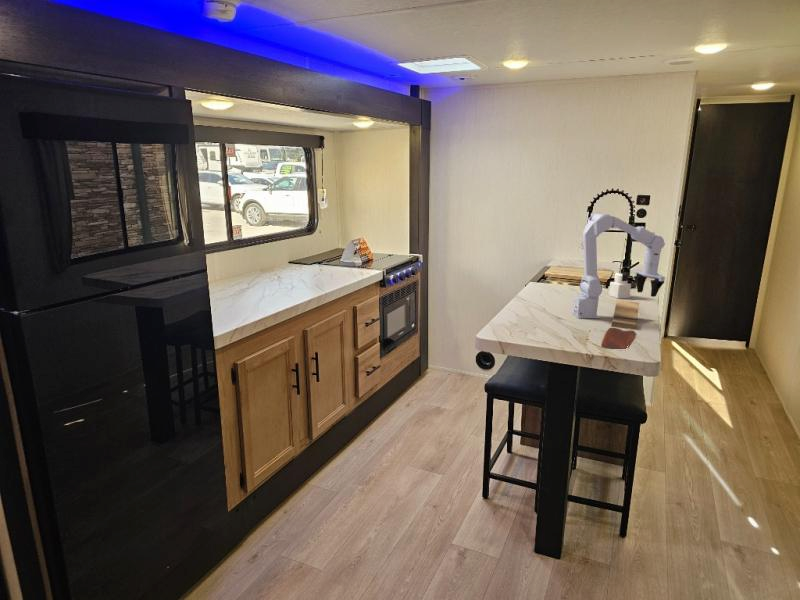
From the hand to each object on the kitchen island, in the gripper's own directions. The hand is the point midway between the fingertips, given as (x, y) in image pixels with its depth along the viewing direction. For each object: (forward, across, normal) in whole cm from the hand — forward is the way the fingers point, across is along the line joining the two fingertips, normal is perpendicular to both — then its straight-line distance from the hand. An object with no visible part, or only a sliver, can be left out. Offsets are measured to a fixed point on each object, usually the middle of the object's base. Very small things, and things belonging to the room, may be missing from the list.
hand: (646, 294), depth 225 cm
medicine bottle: (+10, +32, -16) cm, 38 cm away
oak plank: (+7, -1, +11) cm, 13 cm away
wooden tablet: (+11, -22, +34) cm, 42 cm away
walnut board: (+10, -8, +18) cm, 22 cm away
